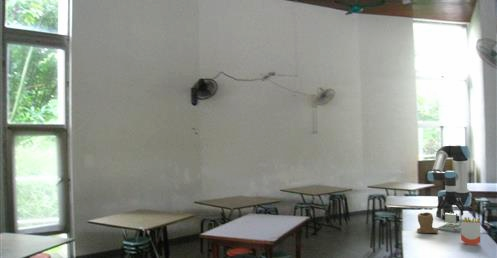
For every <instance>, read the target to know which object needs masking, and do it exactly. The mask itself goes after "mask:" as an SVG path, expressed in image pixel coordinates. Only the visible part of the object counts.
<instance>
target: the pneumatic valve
mask: <svg viewBox="0 0 497 258" xmlns="http://www.w3.org/2000/svg"><path fill="white" fill-rule="evenodd" d="M442 221H443V222H444V223H446V224H447V223H448V224H447V227H448V228H455V225H454V224H458V222H460V215H458V213H455V214H452V213H451V212H450V213H444V215H443V214H442Z"/></svg>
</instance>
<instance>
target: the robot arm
mask: <svg viewBox="0 0 497 258" xmlns="http://www.w3.org/2000/svg"><path fill="white" fill-rule="evenodd" d="M470 154H471V153H470V148H469V146H468V145H467V144H445V145H443V146H441V147H440V148H438V150H437V151H436V154H435V159H434V164H433V167H432V170H431V171H427V175H426V176H427V180H428V181H431V182H445V183H444V189H442V190H439V191H437V204H438V205H437V206H436V208H437V210H436V213H435V216H436V217H438V218H442V214H443V215H444V213H450V212H451V213H452V214H456V213H455V211H454V208H453V206H456V207H457V208H458V210H459V221H462V220H463V216H464V211H466V209H467V208H466V207H469V206H471V202H472V196H473V195H472V193H471V192H470V190H469V189H468V177H467V174H468V173H467V162H468V161H469V159H470V158H471V156H470ZM448 159H452V161H453V162H454V168H455V169H454V170H455V171H454V170H446V171H443V170H444V167H445V164H446V160H448Z"/></svg>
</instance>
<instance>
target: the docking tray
mask: <svg viewBox="0 0 497 258" xmlns="http://www.w3.org/2000/svg"><path fill="white" fill-rule="evenodd" d="M448 223H449V222H446V223H444V224H443V225H440V226H438V227H437V228H438V231H442V232H443V231H444V232H451V233H457V234H461V224H458V223H453V224H454V225H455V228H448V227H447V224H448Z"/></svg>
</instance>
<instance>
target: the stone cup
mask: <svg viewBox="0 0 497 258" xmlns="http://www.w3.org/2000/svg"><path fill="white" fill-rule="evenodd" d="M417 221H418V224H419V227H418V228H417V229H416V231H417V232H418V233H420V234H421V233H423V234H438V232H439V230H438V228H439V227H433V223H434V216H433V213H431V212H428V211H427V212H420V213H418V215H417Z"/></svg>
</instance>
